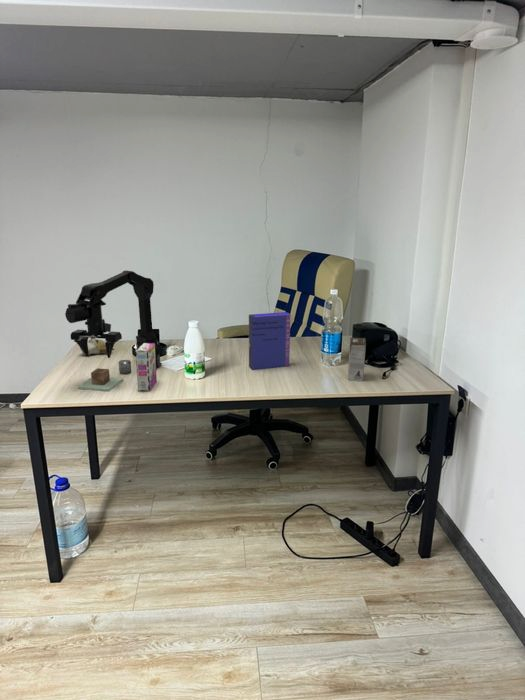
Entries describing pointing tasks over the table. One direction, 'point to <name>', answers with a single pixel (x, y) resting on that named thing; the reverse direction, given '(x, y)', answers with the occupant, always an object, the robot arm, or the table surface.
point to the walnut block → (100, 376)
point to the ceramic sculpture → (96, 346)
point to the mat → (106, 387)
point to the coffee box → (356, 359)
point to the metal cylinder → (125, 367)
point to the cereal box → (269, 340)
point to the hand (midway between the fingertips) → (98, 356)
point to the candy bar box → (146, 366)
